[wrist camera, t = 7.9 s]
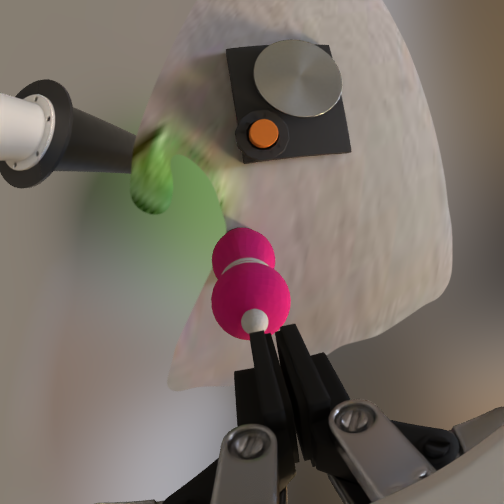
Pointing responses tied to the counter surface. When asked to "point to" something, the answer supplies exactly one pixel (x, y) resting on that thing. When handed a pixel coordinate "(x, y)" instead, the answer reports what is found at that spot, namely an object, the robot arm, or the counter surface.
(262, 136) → the button
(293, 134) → the scale
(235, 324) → the pepper mill
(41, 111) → the robot arm
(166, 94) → the counter surface
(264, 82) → the weighing plate
